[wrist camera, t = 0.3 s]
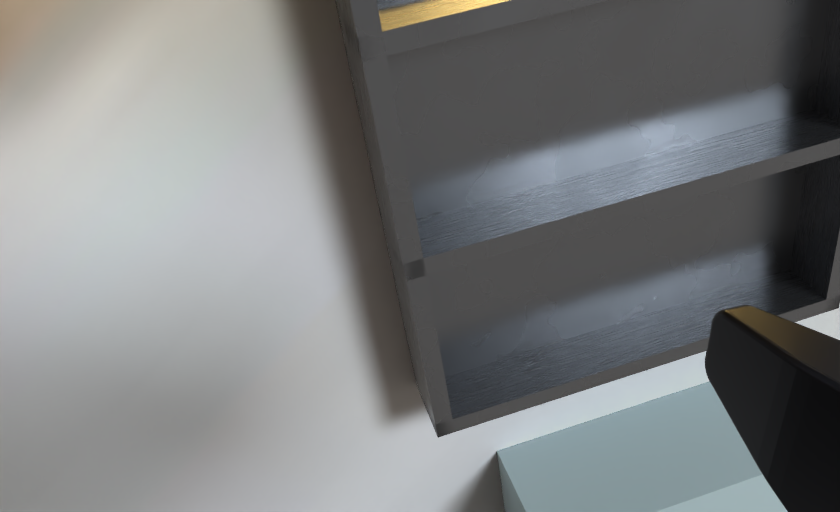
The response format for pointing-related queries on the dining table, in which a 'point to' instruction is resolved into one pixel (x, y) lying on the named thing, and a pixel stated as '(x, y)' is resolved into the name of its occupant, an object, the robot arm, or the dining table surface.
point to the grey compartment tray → (594, 181)
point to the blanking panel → (640, 463)
